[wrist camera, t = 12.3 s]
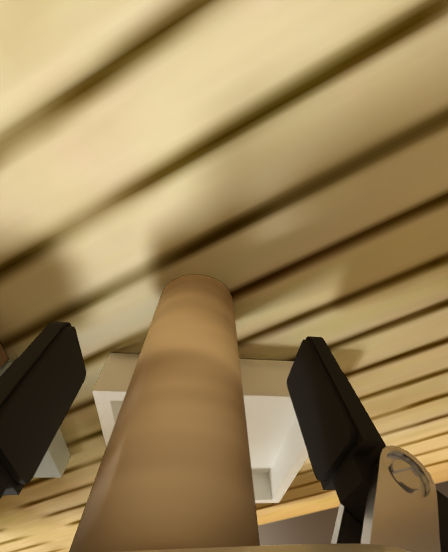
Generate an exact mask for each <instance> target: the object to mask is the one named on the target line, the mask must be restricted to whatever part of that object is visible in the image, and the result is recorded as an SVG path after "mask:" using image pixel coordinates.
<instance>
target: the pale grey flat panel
mask: <svg viewBox="0 0 448 552" xmlns="http://www.w3.org/2000/svg"><path fill="white" fill-rule="evenodd" d="M12 363H13V362H6V363H5V364H4V365H3V366H2V367H1V368H0V376H1V375H2V374H3V373H4V372H5V371H6V369H7V368H8V367H9V366H10V365H11V364H12ZM70 457H71V455H70V452H69V450H68V447H67V445H66V442H65V440H64V437H63V435H62V432H61V430H60V427H59V429H58V431H57V433H56V435H55V437H54V439H53V441H52V443H51V444H50V446H49V448H48V450H47V452H46V454H45V456H44V458H43V460H42V462H41V463H40V465H39V467H38V469H37V471H36V473H35V475H34V476H33V478H62V475H63V473H64V471H65V469H66V466H67V464H68V462H69V459H70Z"/></svg>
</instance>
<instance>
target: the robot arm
mask: <svg viewBox="0 0 448 552" xmlns="http://www.w3.org/2000/svg"><path fill="white" fill-rule="evenodd" d="M85 377H86V369H85V365H84V361H83V357H82V353H81V349H80V345H79V341H78V337H77V333H76V329H75V327H72V326H71V324H70V323H68V322H50V323H49V324H48V325H47V326H46V327H45V328H44V330H43V331H42V332H41V333H40V334H39V335H38V336H37V337H36V339H35V340H34V341H33V342H32V343H31V344H30V345H29V346H28V348H27V349H26V350H25V351H24V352H23V353H22V354H21V355H20V357H19V358H17V359H16V360H15V361H14V362H13V363H12V364H11V365H10V366H9V367H8V368H7V369H6V371H5V372H4V373H3V374H2V375H1V376H0V498H1V497H2V495H19V493H20V491H21V490H22V488H23V486H24V484H27V483H29V482H30V481H31V479H32V478H33V476H34V475H35V473H36V471H37V469H38V467H39V465H40V463H41V462H42V460H43V458H44V456H45V454H46V452H47V450H48V448H49V446H50V444H51V443H52V441H53V439H54V437H55V435H56V433H57V431H58V429H59V427H60V426H61V424H62V422H63V420H64V418H65V416H66V414H67V412H68V410H69V408H70V407H71V405H72V403H73V401H74V399H75V397H76V395H77V393H78V391H79V390H80V388H81V386H82V384H83V382H84V380H85ZM287 388H288V391H289V395H290V398H291V401H292V404H293V407H294V411H295V414H296V417H297V420H298V423H299V427H300V430H301V433H302V436H303V439H304V442H305V446H306V449H307V452H308V455H309V458H310V462H311V465H312V468H313V471H314V474H315V476H316V478H317V479H318V480H320V481H321V484H322V487H323V490H336V492H337V495H338V498H339V501H340V506H339V510H338V515H337V520H336V524H335V528H334V533H333V538H332V541H331V544H300V545H271V546H242V547H216V548H192V549H168V550H144V551H121V552H448V498H447V497H446V496H444V495H443V494H442V493H440V492H439V491H438V490H436V487H435V484H434V481H433V479H432V477H431V475H430V474H429V472H428V471H427V470H426V468H425V467H424V466H423V464H422V463H421V462H420V461H419V460H418V459H417V458H416V457H414V456H413V455H412V454H410V453H409V452H408V451H406V450H404V449H402V448H400V447H396V446H386V445H385V443H384V441H383V440H382V438H381V436H380V435H379V433H378V431H377V429H376V428H375V426H374V424H373V422H372V421H371V419H370V417H369V415H368V414H367V412H366V410H365V409H364V407H363V405H362V403H361V402H360V400H359V398H358V396H357V395H356V393H355V391H354V389H353V388H352V386H351V384H350V383H349V381H348V379H347V377H346V376H345V374H344V373H343V372H342V370H341V369H340V367H339V365H338V363H337V362H336V360H335V358H334V356H333V355H332V353H331V351H330V349H329V348H328V346H327V344H326V342H325V341H324V339H323V338H322V337H307V338H306V340H303V341H302V343H301V346H300V348H299V351H298V353H297V355H296V358H295V360H294V363H293V365H292V368H291V370H290V373H289V375H288V378H287Z"/></svg>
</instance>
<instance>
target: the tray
mask: <svg viewBox="0 0 448 552" xmlns="http://www.w3.org/2000/svg"><path fill="white" fill-rule="evenodd" d="M139 356H140V354H125V353H110V354H109V356H108V359H107V361H106V363H105V365H104V367H103V369H102V371H101V373H100V375H99V378H98V380H97V382H96V384H95V386H94V388H93V390H92V392H93V396H94V400H95V404H96V408H97V412H98V416H99V420H100V424H101V428H102V432H103V436H104V440H105V444H106V448H107V445H108V442H109V439H110V436H111V434H112V431H113V428H114V425H115V422H116V420H117V417H118V414H119V411H120V409H121V406H122V403H123V400H124V397H125V395H126V392H127V389H128V386H129V383H130V381H131V378H132V375H133V372H134V370H135V367H136V364H137V361H138V358H139ZM239 360H240V369H241V378H242V387H243V396H244V406H245V415H246V424H247V433H248V442H249V451H250V460H251V469H252V478H253V488H254V497H255V503H279V502H280V500H281V499H282V497H283V495H284V494H285V492H286V491H287V489H288V488H289V486H290V484H291V483H292V481H293V480H294V478H295V477H296V475H297V473H298V472H299V470H300V469H301V467H302V466H303V464H304V462H305V461H306V459H307V458H308V456H309V455H308V452H307V449H306V446H305V442H304V439H303V436H302V433H301V430H300V427H299V423H298V420H297V417H296V414H295V411H294V407H293V404H292V401H291V398H290V395H289V391H288V388H287V378H288V375H289V373H290V370H291V368H292V365H293V363H294V361H277V360H255V359H239Z"/></svg>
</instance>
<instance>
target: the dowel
mask: <svg viewBox="0 0 448 552" xmlns="http://www.w3.org/2000/svg"><path fill="white" fill-rule="evenodd" d="M242 546H260V543H259V533H258V524H257V515H256V506H255V497H254V488H253V478H252V469H251V460H250V451H249V442H248V433H247V424H246V415H245V406H244V396H243V387H242V378H241V369H240V360H239V351H238V342H237V333H236V324H235V315H234V305H233V299H232V296H231V294H230V292H229V290H228V289H227V288H226V287H225V286H224V285H223V284H222V283H221V282H219V281H218V280H216V279H214V278H211V277H208V276H204V275H187V276H183V277H180V278H177V279H175V280H174V281H172V282H171V283H169V284H168V285H167V286H166V288H165V289H164V290H163V292H162V294H161V297H160V300H159V303H158V305H157V308H156V311H155V314H154V317H153V319H152V322H151V325H150V328H149V331H148V333H147V336H146V339H145V342H144V344H143V347H142V350H141V353H140V356H139V358H138V361H137V364H136V367H135V370H134V372H133V375H132V378H131V381H130V383H129V386H128V389H127V392H126V395H125V397H124V400H123V403H122V406H121V409H120V411H119V414H118V417H117V420H116V422H115V425H114V428H113V431H112V434H111V436H110V439H109V442H108V445H107V448H106V450H105V453H104V456H103V459H102V461H101V464H100V467H99V470H98V473H97V475H96V478H95V481H94V484H93V487H92V489H91V492H90V495H89V498H88V500H87V503H86V506H85V509H84V512H83V514H82V517H81V520H80V523H79V526H78V528H77V531H76V534H75V537H74V539H73V542H72V545H71V548H70V551H69V552H121V551H144V550H168V549H192V548H216V547H242Z"/></svg>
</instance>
